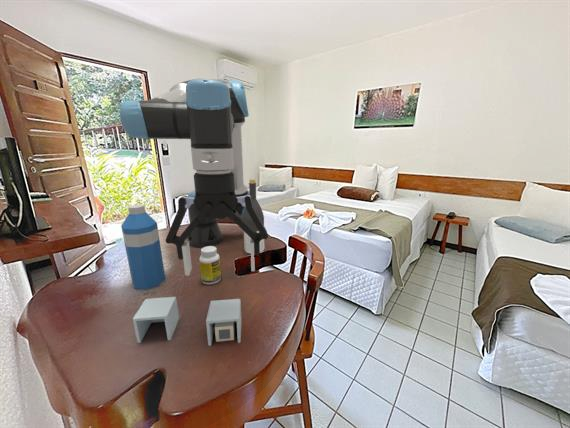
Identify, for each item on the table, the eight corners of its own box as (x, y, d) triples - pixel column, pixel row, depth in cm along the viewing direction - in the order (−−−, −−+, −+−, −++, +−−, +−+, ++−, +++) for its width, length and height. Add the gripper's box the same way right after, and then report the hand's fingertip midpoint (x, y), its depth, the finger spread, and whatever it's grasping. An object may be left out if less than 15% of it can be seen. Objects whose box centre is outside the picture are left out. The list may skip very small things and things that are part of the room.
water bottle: (171, 277, 80) (161, 204, 73) (145, 293, 72) (131, 212, 65) (152, 271, 84) (140, 201, 77) (125, 285, 76) (109, 208, 69)
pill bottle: (215, 286, 76) (213, 254, 72) (197, 284, 77) (194, 252, 74) (224, 276, 81) (222, 245, 78) (207, 274, 83) (204, 244, 79)
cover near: (149, 321, 61) (145, 298, 59) (179, 318, 62) (176, 296, 60) (137, 343, 54) (132, 318, 52) (170, 340, 55) (166, 316, 53)
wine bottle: (245, 248, 102) (242, 177, 94) (265, 248, 102) (263, 177, 94) (243, 257, 94) (239, 180, 86) (264, 257, 95) (262, 180, 86)
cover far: (212, 323, 60) (210, 300, 58) (241, 320, 61) (240, 298, 59) (208, 345, 54) (205, 321, 52) (240, 342, 55) (239, 318, 53)
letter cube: (218, 329, 59) (217, 315, 58) (235, 327, 59) (234, 313, 58) (215, 342, 55) (214, 327, 54) (234, 340, 55) (233, 326, 54)
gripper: (135, 174, 41) (153, 283, 47) (280, 173, 45) (280, 275, 51) (152, 169, 49) (166, 265, 55) (276, 168, 52) (276, 258, 58)
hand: (221, 270), depth 53 cm, fingers open, 13 cm apart
